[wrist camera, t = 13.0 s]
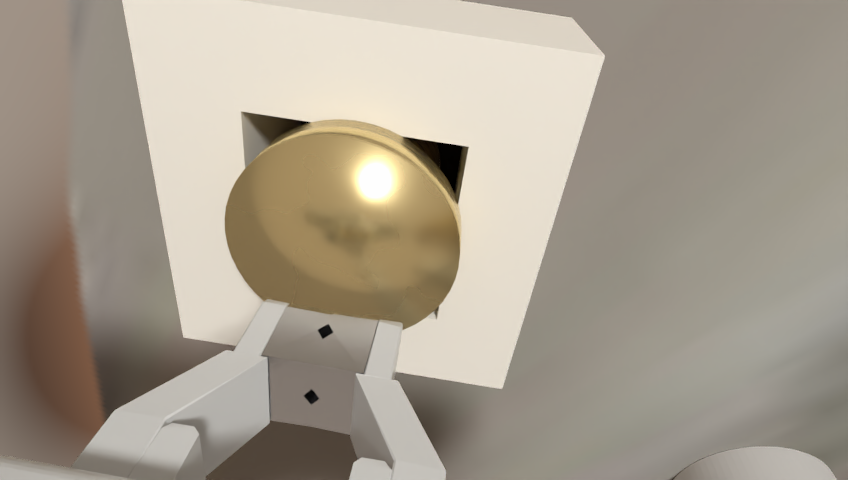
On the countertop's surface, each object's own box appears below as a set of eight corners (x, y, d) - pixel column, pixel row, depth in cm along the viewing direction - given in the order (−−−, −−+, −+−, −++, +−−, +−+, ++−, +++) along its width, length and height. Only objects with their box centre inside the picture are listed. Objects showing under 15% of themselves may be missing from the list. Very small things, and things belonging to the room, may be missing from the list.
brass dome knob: (452, 246, 20) (442, 352, 15) (294, 222, 20) (234, 319, 15) (480, 87, 16) (479, 158, 12) (290, 59, 16) (212, 118, 12)
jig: (498, 296, 21) (501, 388, 17) (241, 255, 22) (183, 337, 17) (571, 17, 16) (605, 55, 11) (216, -37, 16) (118, -19, 11)
